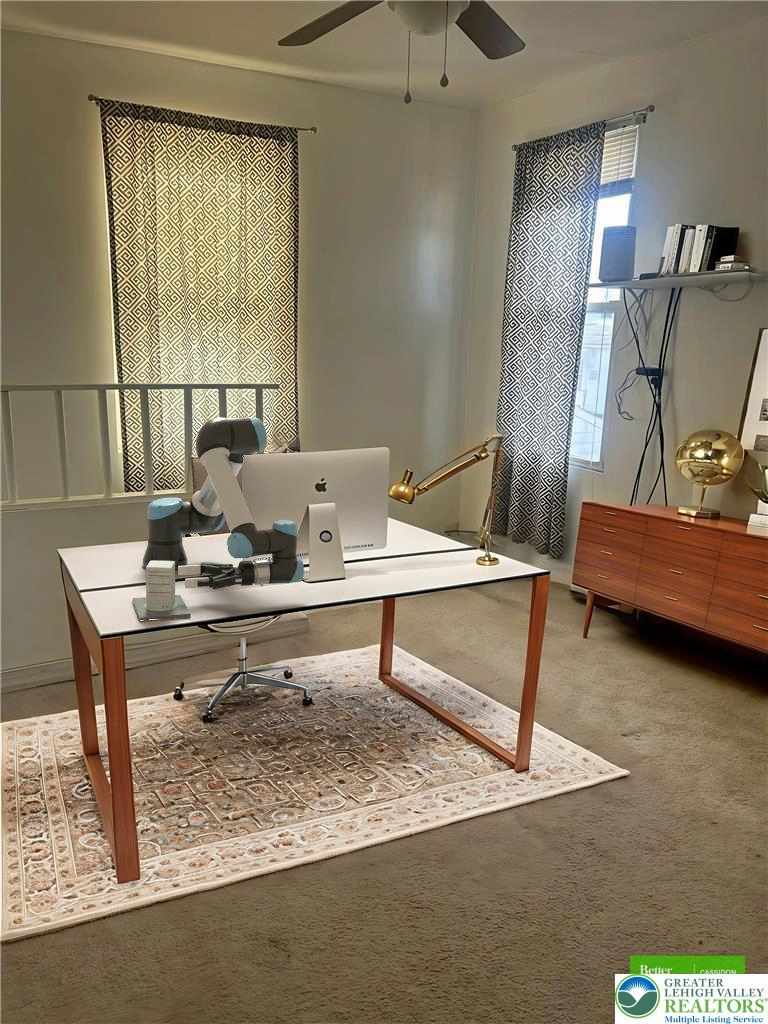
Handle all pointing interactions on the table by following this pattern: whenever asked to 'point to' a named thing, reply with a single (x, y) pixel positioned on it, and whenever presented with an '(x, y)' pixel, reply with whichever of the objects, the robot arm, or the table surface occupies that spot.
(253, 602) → the table surface
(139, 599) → the charging pad
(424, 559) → the table surface
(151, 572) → the supplement box
